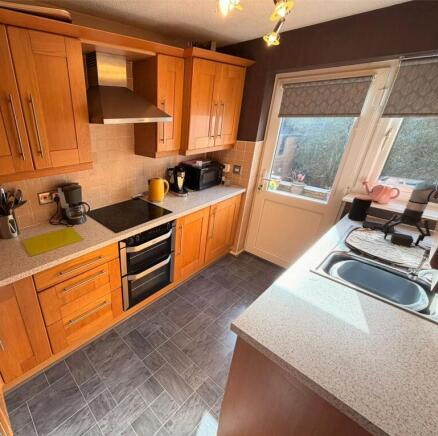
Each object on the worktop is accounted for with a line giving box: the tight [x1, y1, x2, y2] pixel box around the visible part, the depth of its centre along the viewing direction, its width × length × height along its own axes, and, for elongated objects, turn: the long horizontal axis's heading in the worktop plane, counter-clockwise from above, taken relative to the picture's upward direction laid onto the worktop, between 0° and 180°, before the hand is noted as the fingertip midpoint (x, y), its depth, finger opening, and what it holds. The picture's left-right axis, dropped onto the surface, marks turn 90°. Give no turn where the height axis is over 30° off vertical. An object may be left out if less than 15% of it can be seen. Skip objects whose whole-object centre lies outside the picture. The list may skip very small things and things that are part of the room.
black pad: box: [390, 231, 414, 248], centre depth 142 cm, size 11×8×5 cm
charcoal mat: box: [361, 220, 396, 235], centre depth 163 cm, size 14×16×2 cm
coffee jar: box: [347, 194, 374, 222], centre depth 176 cm, size 11×11×18 cm
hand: (399, 241), depth 142 cm, fingers open, 13 cm apart
